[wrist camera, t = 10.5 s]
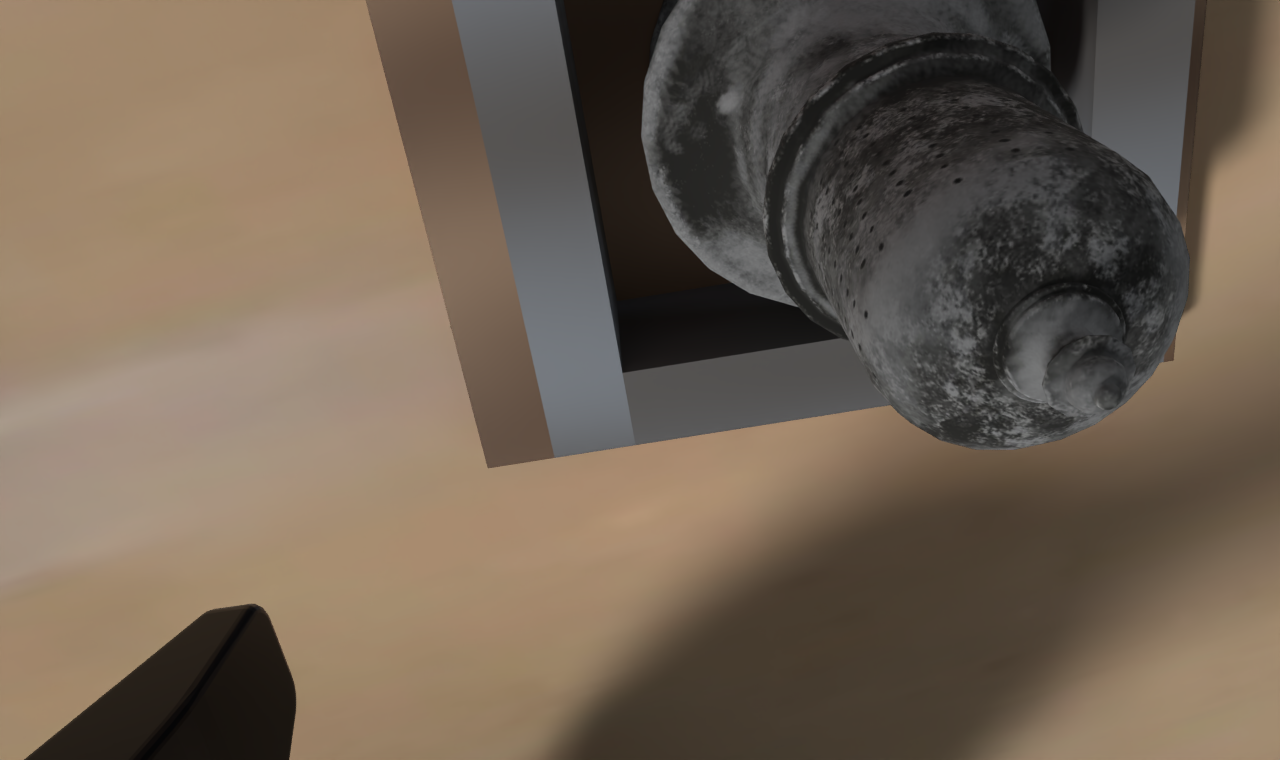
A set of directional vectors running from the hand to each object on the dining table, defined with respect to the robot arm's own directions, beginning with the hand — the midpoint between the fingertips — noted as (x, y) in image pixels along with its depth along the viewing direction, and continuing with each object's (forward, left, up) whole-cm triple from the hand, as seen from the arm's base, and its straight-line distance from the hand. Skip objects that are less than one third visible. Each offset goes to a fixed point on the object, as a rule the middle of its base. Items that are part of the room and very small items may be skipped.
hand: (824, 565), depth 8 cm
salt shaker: (+1, -2, -12) cm, 12 cm away
